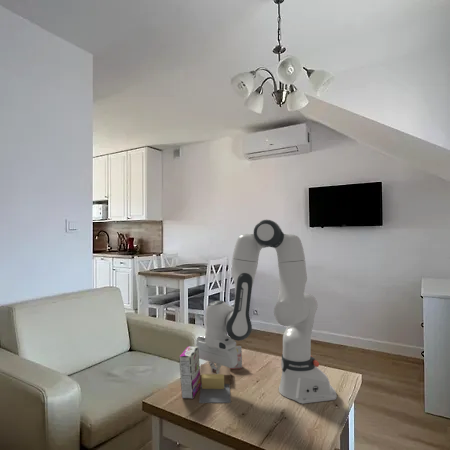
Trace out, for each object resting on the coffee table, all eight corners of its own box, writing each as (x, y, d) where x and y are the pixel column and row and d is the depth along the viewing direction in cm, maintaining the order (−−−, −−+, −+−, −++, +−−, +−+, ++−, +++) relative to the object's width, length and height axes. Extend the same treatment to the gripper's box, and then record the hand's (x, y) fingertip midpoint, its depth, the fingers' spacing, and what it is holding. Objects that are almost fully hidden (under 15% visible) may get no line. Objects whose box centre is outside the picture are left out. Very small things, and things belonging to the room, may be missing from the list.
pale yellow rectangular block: (224, 374, 132) (223, 378, 130) (224, 384, 134) (223, 389, 133) (202, 374, 132) (201, 378, 130) (202, 384, 135) (202, 388, 133)
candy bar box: (189, 385, 136) (187, 345, 137) (201, 385, 135) (199, 346, 136) (180, 398, 125) (178, 355, 126) (193, 399, 124) (190, 356, 125)
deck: (229, 373, 148) (229, 364, 148) (230, 384, 137) (230, 375, 137) (201, 373, 148) (201, 364, 148) (199, 384, 137) (199, 375, 137)
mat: (229, 384, 137) (229, 384, 137) (230, 402, 123) (230, 402, 123) (200, 385, 137) (200, 384, 137) (199, 403, 122) (199, 402, 122)
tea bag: (226, 366, 156) (226, 345, 156) (240, 365, 157) (240, 344, 157) (227, 369, 153) (227, 348, 153) (241, 368, 154) (242, 347, 154)
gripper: (192, 337, 141) (191, 369, 140) (230, 346, 129) (230, 382, 129) (201, 333, 146) (201, 364, 146) (239, 342, 134) (239, 376, 134)
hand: (215, 372), depth 137 cm, fingers closed
